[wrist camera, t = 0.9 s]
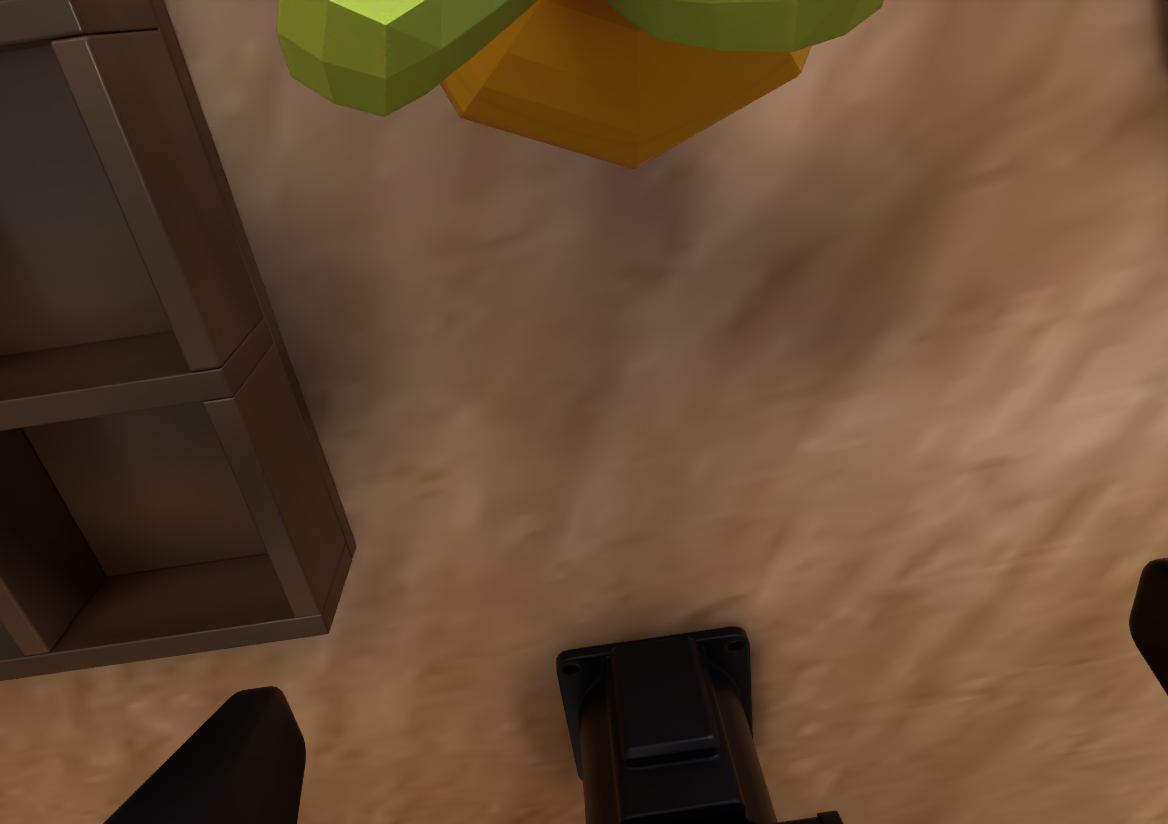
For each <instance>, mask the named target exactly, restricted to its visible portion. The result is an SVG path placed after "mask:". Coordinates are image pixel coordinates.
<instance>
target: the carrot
mask: <svg viewBox="0 0 1168 824" xmlns="http://www.w3.org/2000/svg"><path fill="white" fill-rule="evenodd" d="M883 1H884V0H279V8H278V21H277V34H278V37H279V40H280V43H281V46H282V49H283V52H284V56H285V59H286V62H287V65H288V68H289V71H290V74H291V76H292V77H293V78H295V79H296V80H298V81H299V82H301V83H303V84H304V85H306V86H307V87H309V88H311V89H312V90H314V91H315V92H317V93H319V94H320V95H322V96H323V97H325V98H326V99H328V100H330V101H331V102H333V103H335V104H338V105H342V106H346V107H350V108H353V109H357V110H361V111H365V112H369V113H372V114H376V115H380V116H384V117H385V116H387V115H389V114H391V113H392V112H394V111H396V110H398V109H400V108H401V107H403V106H405V105H407V104H409V103H410V102H412V101H414V100H416V99H418V98H419V97H421V96H423V95H425V94H427V93H428V92H429V91H431V90H432V89H433V88H434V87H436V86H437V85H438V84H439V83H440V85H441V86H442V88H443V90H444V91H445V93H446V95H447V96H448V98H449V100H450V101H451V103H452V105H453V107H454V108H455V110H456V112H457V113H458V115H459V117H460V118H464V119H467V120H470V121H474V122H477V123H480V124H484V125H487V126H490V127H494V128H497V129H500V130H504V131H507V132H511V133H514V134H517V135H521V136H524V137H527V138H531V139H534V140H537V141H541V142H544V143H547V144H551V145H554V146H558V147H561V148H564V149H568V150H571V151H574V152H578V153H581V154H584V155H588V156H591V157H594V158H598V159H601V160H605V161H608V162H611V163H615V164H618V165H621V166H625V167H628V168H631V169H635V168H637V167H638V166H640V165H642V164H644V163H646V162H647V161H649V160H651V159H653V158H654V157H656V156H658V155H660V154H661V153H663V152H665V151H667V150H668V149H670V148H672V147H674V146H676V145H677V144H679V143H681V142H683V141H684V140H686V139H688V138H690V137H691V136H693V135H695V134H697V133H698V132H700V131H702V130H704V129H706V128H707V127H709V126H711V125H713V124H714V123H716V122H718V121H720V120H721V119H723V118H725V117H727V116H728V115H730V114H732V113H734V112H736V111H737V110H739V109H741V108H743V107H744V106H746V105H748V104H750V103H751V102H753V101H755V100H757V99H758V98H760V97H762V96H764V95H766V94H767V93H769V92H771V91H773V90H774V89H776V88H778V87H780V86H781V85H783V84H785V83H787V82H789V81H790V80H792V79H794V78H796V77H797V76H798V75H799V74H800V73H801V72H802V69H803V67H804V64H805V62H806V59H807V56H808V54H809V51H810V49H811V46H813V45H816V44H819V43H822V42H825V41H828V40H831V39H834V38H837V37H840V36H843V35H845V34H847V33H848V32H849V31H851V30H852V29H853V28H855V27H856V26H857V25H859V24H860V23H861V22H863V21H864V20H865V19H867V18H868V17H869V16H871V15H872V14H873V13H875V12H876V11H877V10H879V9H880V8H881V7H882V4H883Z"/></svg>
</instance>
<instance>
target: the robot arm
mask: <svg viewBox="0 0 1168 824" xmlns="http://www.w3.org/2000/svg"><path fill="white" fill-rule="evenodd" d="M1129 627H1130V631H1131V635H1132V638H1133V640H1134V642H1135V644H1136V646H1137V648H1138V649H1139V651H1140V653H1141V654H1142V656H1143V657H1144V659H1145V660H1146V662H1147V664H1148V665H1149V667H1150V668H1151V670H1152V672H1153V673H1154V675H1155V676H1156V678H1157V679H1158V681H1159V683H1160V684H1161V686H1162V687H1163V689H1164V690H1165V692H1166V694H1167V695H1168V558H1163V559H1156V560H1153V561H1150V562H1149V563H1148V564H1147V565H1146V566H1145V567H1144V569H1143V571H1142V574H1141V577H1140V581H1139V585H1138V588H1137V592H1136V596H1135V599H1134V603H1133V606H1132V610H1131V614H1130V619H1129ZM732 641H736V642H734V643H730V642H732ZM569 664H575V665H573V666H568V665H569ZM556 670H557V676H558V681H559V686H560V691H561V695H562V700H563V705H564V710H565V714H566V719H567V724H568V728H569V733H570V738H571V743H572V747H573V752H574V757H575V762H576V766H577V771H578V776H579V778H580V779H581V780H582V781H583V786H584V801H585V815H586V824H843V822H842V820H841V818H840V816H839V814H838V812H837V811H830V812H823V813H817V817H813V818H806V819H799V820H792V821H785V822H777V819H776V815H775V812H774V809H773V805H772V802H771V799H770V795H769V792H768V789H767V786H766V782H765V779H764V776H763V772H762V769H761V766H760V762H759V759H758V756H757V752H756V749H755V746H754V742H753V732H752V702H751V671H750V644H749V641H748V638H747V635H746V632H745V631H744V630H743V629H742V628H739V627H726V628H719V629H712V630H705V631H698V632H691V633H684V634H677V635H670V636H663V637H656V638H649V639H642V640H635V641H628V642H621V643H614V644H607V645H600V646H593V647H586V648H579V649H572V650H567V651H563V652H562V653H560V654H559V655H558V657H557V658H556ZM305 762H306V748H305V742H304V738H303V735H302V733H301V731H300V728H299V726H298V724H297V722H296V720H295V717H294V715H293V713H292V711H291V708H290V706H289V704H288V702H287V700H286V697H285V695H284V694H283V692H282V691H281V690H280V689H279V688H277V687H273V686H269V687H262V688H255V689H248V690H242V691H239V692H237V693H235V694H234V695H233V696H231V697H230V698H229V699H228V700H227V701H226V702H225V703H224V704H223V705H222V706H221V707H220V708H219V709H218V710H217V711H216V712H215V713H214V714H213V715H212V716H211V717H210V718H209V719H208V720H207V721H206V722H205V723H204V724H203V725H202V726H201V727H200V728H199V729H198V730H197V731H196V732H195V733H194V734H193V735H192V736H191V737H190V738H189V739H188V740H187V741H186V742H185V743H184V744H183V745H182V746H181V747H180V748H179V749H178V750H177V751H176V752H175V753H174V754H173V755H172V756H171V757H170V758H169V759H168V760H167V761H166V762H165V763H164V764H163V765H162V766H161V767H160V768H159V769H158V770H157V771H156V772H155V773H154V774H153V775H152V776H151V777H150V778H149V779H148V780H147V781H146V782H145V783H144V784H143V785H142V786H141V787H140V788H139V789H138V790H137V791H136V792H134V793H133V794H132V795H131V796H130V797H129V798H128V799H127V800H126V801H125V802H124V803H123V804H122V805H121V806H120V807H119V808H118V809H117V810H116V811H115V812H114V813H113V814H112V815H111V816H110V817H109V818H108V819H107V820H106V821H105V822H104V823H103V824H297V819H298V812H299V805H300V798H301V791H302V784H303V777H304V770H305Z"/></svg>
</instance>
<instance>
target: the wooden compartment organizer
mask: <svg viewBox="0 0 1168 824" xmlns="http://www.w3.org/2000/svg"><path fill="white" fill-rule="evenodd" d="M355 549H356V546H355V543H354V540H353V538H352V535H351V532H350V529H349V526H348V523H347V521H346V518H345V515H344V512H343V509H342V506H341V504H340V501H339V498H338V495H337V492H336V490H335V487H334V484H333V481H332V478H331V475H330V473H329V470H328V467H327V464H326V461H325V458H324V456H323V453H322V450H321V447H320V444H319V442H318V439H317V436H316V433H315V430H314V427H313V425H312V422H311V419H310V416H309V413H308V410H307V408H306V405H305V402H304V399H303V396H302V394H301V391H300V388H299V385H298V382H297V379H296V377H295V374H294V371H293V368H292V365H291V362H290V360H289V357H288V354H287V351H286V348H285V346H284V343H283V340H282V337H281V334H280V331H279V329H278V326H277V323H276V320H275V317H274V314H273V312H272V309H271V306H270V303H269V300H268V298H267V295H266V292H265V289H264V286H263V283H262V281H261V278H260V275H259V272H258V269H257V266H256V264H255V261H254V258H253V255H252V252H251V250H250V247H249V244H248V241H247V238H246V235H245V233H244V230H243V227H242V224H241V221H240V218H239V216H238V213H237V210H236V207H235V204H234V202H233V199H232V196H231V193H230V190H229V187H228V185H227V182H226V179H225V176H224V173H223V170H222V168H221V165H220V162H219V159H218V156H217V154H216V151H215V148H214V145H213V142H212V139H211V137H210V134H209V131H208V128H207V125H206V122H205V120H204V117H203V114H202V111H201V108H200V106H199V103H198V100H197V97H196V94H195V91H194V89H193V86H192V83H191V80H190V77H189V74H188V72H187V69H186V66H185V63H184V60H183V58H182V55H181V52H180V49H179V46H178V43H177V41H176V38H175V35H174V32H173V29H172V26H171V24H170V21H169V18H168V15H167V12H166V10H165V7H164V4H163V1H162V0H0V681H4V680H11V679H18V678H25V677H32V676H38V675H45V674H52V673H59V672H66V671H73V670H80V669H87V668H94V667H101V666H108V665H115V664H122V663H129V662H136V661H143V660H150V659H157V658H164V657H171V656H178V655H185V654H192V653H199V652H206V651H213V650H220V649H227V648H234V647H241V646H248V645H254V644H261V643H268V642H275V641H282V640H289V639H296V638H303V637H310V636H317V635H324V634H328V633H329V631H330V628H331V625H332V622H333V619H334V616H335V613H336V609H337V606H338V603H339V600H340V597H341V594H342V590H343V587H344V584H345V581H346V578H347V575H348V572H349V568H350V565H351V562H352V558H353V555H354V552H355Z"/></svg>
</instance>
